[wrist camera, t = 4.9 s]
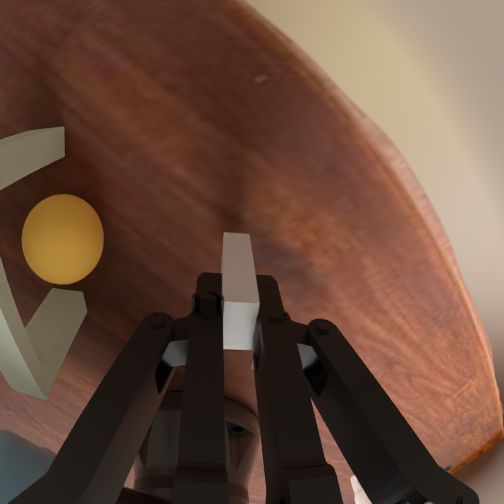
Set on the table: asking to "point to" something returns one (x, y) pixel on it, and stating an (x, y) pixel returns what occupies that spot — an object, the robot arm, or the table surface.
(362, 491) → the mug
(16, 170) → the bridge
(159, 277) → the table surface
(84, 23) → the table surface
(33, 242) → the ball
